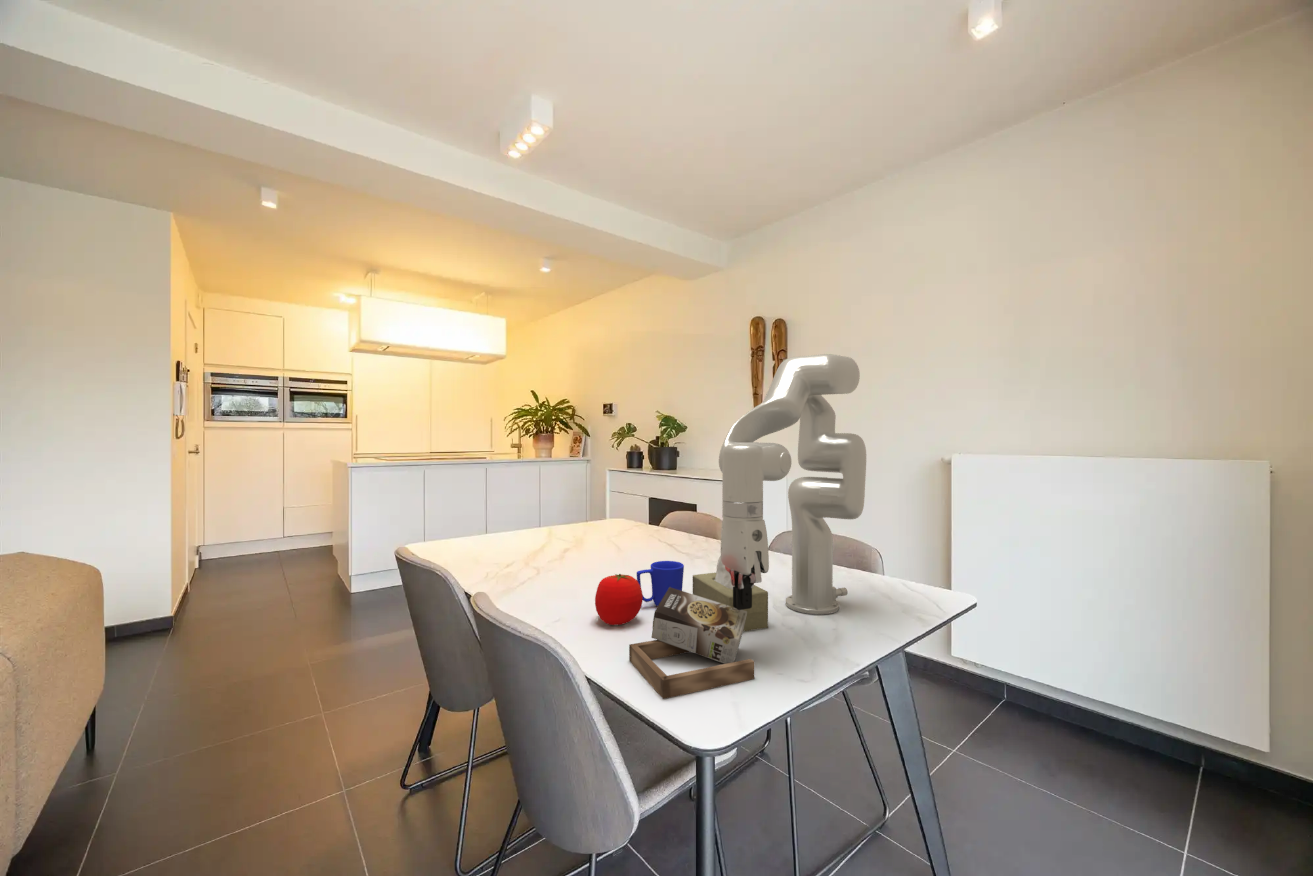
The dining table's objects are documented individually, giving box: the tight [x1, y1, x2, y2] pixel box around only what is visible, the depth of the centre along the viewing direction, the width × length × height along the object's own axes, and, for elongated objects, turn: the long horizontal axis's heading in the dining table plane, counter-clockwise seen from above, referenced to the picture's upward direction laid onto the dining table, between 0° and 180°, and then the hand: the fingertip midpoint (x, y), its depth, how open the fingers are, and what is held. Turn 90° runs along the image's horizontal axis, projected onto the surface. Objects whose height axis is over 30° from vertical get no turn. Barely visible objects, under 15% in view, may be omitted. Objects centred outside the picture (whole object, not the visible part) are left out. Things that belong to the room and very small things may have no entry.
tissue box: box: [692, 554, 769, 633], centre depth 121 cm, size 19×10×16 cm, turn 21°
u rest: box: [628, 639, 755, 700], centre depth 94 cm, size 17×15×3 cm
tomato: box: [594, 573, 644, 626], centre depth 117 cm, size 10×11×11 cm
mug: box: [636, 560, 685, 607], centre depth 128 cm, size 8×12×10 cm
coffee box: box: [650, 587, 747, 664], centre depth 100 cm, size 9×6×16 cm
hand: (742, 607), depth 98 cm, fingers closed
